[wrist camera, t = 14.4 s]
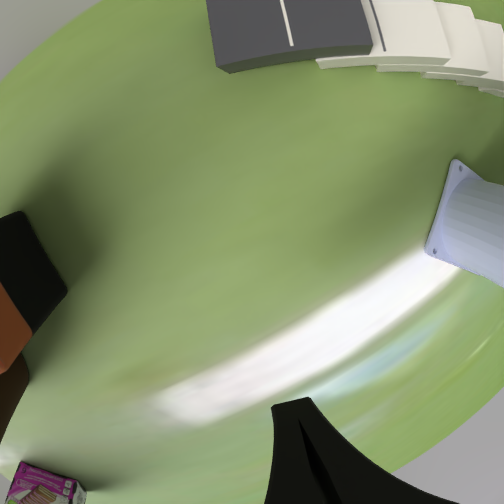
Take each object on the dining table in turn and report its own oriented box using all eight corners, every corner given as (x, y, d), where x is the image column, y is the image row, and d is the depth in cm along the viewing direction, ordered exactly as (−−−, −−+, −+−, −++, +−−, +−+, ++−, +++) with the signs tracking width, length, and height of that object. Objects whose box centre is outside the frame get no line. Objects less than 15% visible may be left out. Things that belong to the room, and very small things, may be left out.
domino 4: (406, 20, 14) (492, 31, 11) (421, 78, 16) (506, 86, 13) (409, 11, 12) (501, 24, 9) (426, 72, 14) (517, 83, 11)
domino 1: (216, 66, 13) (373, 44, 10) (204, -5, 11) (349, -31, 9) (229, 73, 15) (369, 55, 12) (218, 6, 13) (349, -15, 10)
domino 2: (305, 5, 13) (423, 0, 10) (320, 69, 15) (442, 66, 12) (299, -8, 12) (428, -13, 9) (315, 61, 13) (451, 58, 10)
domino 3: (361, 11, 14) (462, 16, 11) (376, 72, 15) (479, 76, 12) (360, -1, 12) (470, 6, 9) (378, 65, 14) (489, 71, 11)
